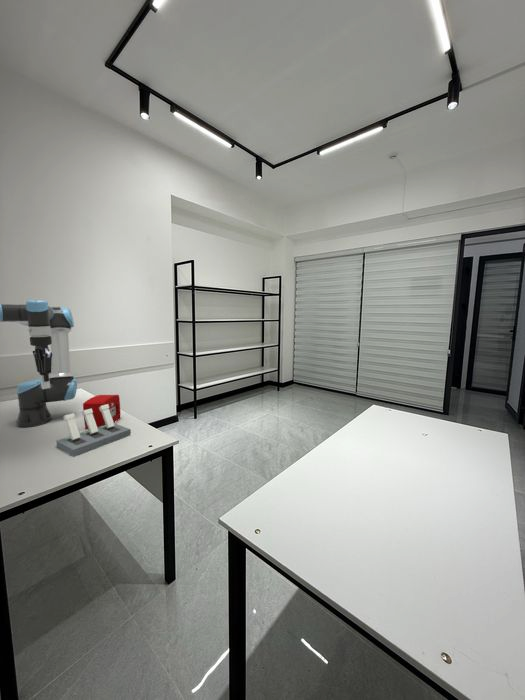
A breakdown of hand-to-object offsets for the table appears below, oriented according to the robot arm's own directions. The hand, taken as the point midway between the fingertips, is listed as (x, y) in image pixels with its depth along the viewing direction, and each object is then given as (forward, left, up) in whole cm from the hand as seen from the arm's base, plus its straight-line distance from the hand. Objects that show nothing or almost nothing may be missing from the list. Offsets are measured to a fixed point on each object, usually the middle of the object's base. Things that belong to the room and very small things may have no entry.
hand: (46, 388), depth 130 cm
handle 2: (+13, +21, -24) cm, 34 cm away
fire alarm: (-5, +27, -27) cm, 38 cm away
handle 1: (+13, +13, -24) cm, 30 cm away
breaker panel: (+13, +13, -27) cm, 32 cm away
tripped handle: (+13, +5, -24) cm, 27 cm away
